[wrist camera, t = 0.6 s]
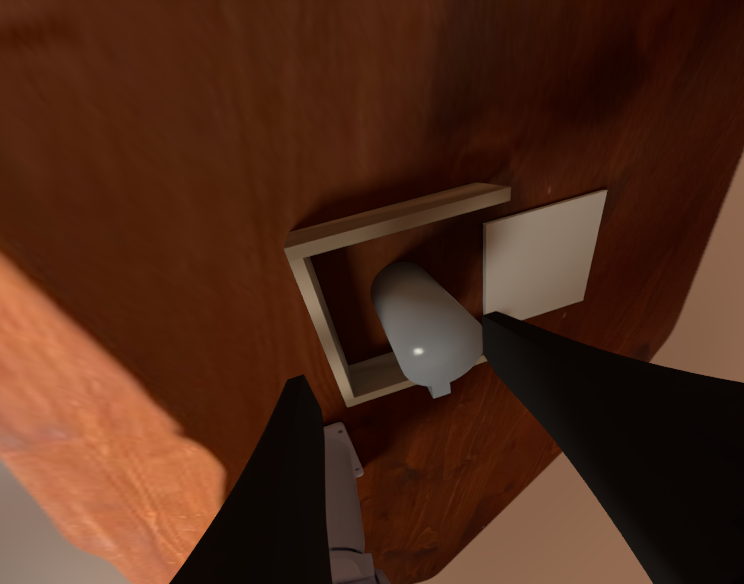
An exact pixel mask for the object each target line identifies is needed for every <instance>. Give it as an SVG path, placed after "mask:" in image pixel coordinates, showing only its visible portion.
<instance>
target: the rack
mask: <svg viewBox="0 0 744 584" xmlns="http://www.w3.org/2000/svg"><path fill="white" fill-rule="evenodd" d="M510 195H511V187H507V186H500V185H493V184H486V183H478V182H475V183H471V184H468V185H464V186H460V187H456V188H453V189H449V190H445V191H441V192H438V193H434V194H430V195H426V196H423V197H419V198H415V199H412V200H408V201H404V202H400V203H397V204H393V205H389V206H385V207H382V208H378V209H374V210H370V211H367V212H363V213H359V214H355V215H352V216H348V217H344V218H340V219H337V220H333V221H329V222H325V223H322V224H318V225H314V226H311V227H307V228H303V229H299V230H296V231H292V232H288V236H287V239H286V243H285V246H284V251H285V253H286V256H287V258H288V261H289V263H290V266H291V268H292V271H293V273H294V276H295V278H296V281H297V283H298V286H299V288H300V291H301V293H302V296H303V298H304V301H305V303H306V306H307V308H308V311H309V313H310V316H311V318H312V321H313V323H314V326H315V328H316V331H317V333H318V336H319V338H320V341H321V343H322V346H323V348H324V351H325V353H326V356H327V358H328V361H329V363H330V366H331V368H332V371H333V373H334V376H335V378H336V381H337V383H338V386H339V388H340V391H341V393H342V396H343V399H344V401H345V404H346V406H347V408H348V407H351V406H354V405H357V404H360V403H363V402H366V401H369V400H372V399H375V398H378V397H381V396H384V395H387V394H390V393H393V392H396V391H399V390H402V389H405V388H408V387H411V386H414V385H417V384H416V383H413V382H412V381H410V380H409V379H408V378H407V377H406V376H405V375H404V373H403V371H402V369H401V367H400V365H399V362H398V360H397V358H396V355H395V353H394V351H393V352H390V353H387V354H384V355H381V356H378V357H374V358H371V359H368V360H365V361H362V362H359V363H356V364H352V365H349V366H348V364H347V361H346V358H345V355H344V353H343V350H342V347H341V344H340V341H339V339H338V336H337V333H336V330H335V327H334V324H333V322H332V319H331V316H330V313H329V310H328V307H327V305H326V302H325V299H324V296H323V293H322V290H321V288H320V285H319V282H318V279H317V276H316V273H315V271H314V268H313V265H312V262H311V259H310V256H312V255H316V254H319V253H323V252H327V251H330V250H334V249H337V248H341V247H345V246H348V245H352V244H355V243H359V242H363V241H366V240H370V239H373V238H377V237H381V236H384V235H388V234H391V233H395V232H399V231H402V230H406V229H410V228H413V227H417V226H420V225H424V224H428V223H431V222H435V221H438V220H442V219H446V218H449V217H453V216H456V215H460V214H464V213H467V212H471V211H474V210H478V209H482V208H485V207H489V206H492V205H496V204H500V203H503V202H507V201H510ZM486 361H487V359H486V358H485V356H484V355H483V352H482V354H481V356H480V358H479V359H478V361H477V362H476V363H475V365H477V364H480V363H483V362H486Z"/></svg>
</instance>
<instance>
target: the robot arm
mask: <svg viewBox="0 0 744 584" xmlns="http://www.w3.org/2000/svg"><path fill="white" fill-rule="evenodd" d="M482 342H483V355H484V356H485V358H486V359H487V361H488V362H489V364H490V365H491V367H492V368H493V370H494V371H495V372H496V374H497V375H498V376H499V378H500V379H501V380H502V381H503V382H504V383H505V384H506V386H507V387H508V388H509V389H510V390H511V391H512V392H513V393H514V395H515V396H516V397H517V398H518V399H519V400H520V401H521V402H522V403H523V405H524V406H525V407H526V408H527V409H528V410H529V411H530V412H531V413H532V415H533V416H534V417H535V418H536V419H537V420H538V421H539V422H540V423H541V425H542V426H543V427H544V428H545V429H546V431H547V432H548V433H549V434H550V435H551V437H552V438H553V439H554V440H555V442H556V443H557V444H558V446H559V447H560V448H561V450H562V451H563V452H564V454H565V455H566V456H567V457H568V459H569V460H570V462H571V463H572V464H573V466H574V467H575V468H576V470H577V471H578V473H579V474H580V475H581V477H582V478H583V480H584V481H585V482H586V484H587V485H588V487H589V488H590V489H591V491H592V492H593V494H594V495H595V496H596V497H597V499H598V501H599V502H600V504H601V505H602V507H603V508H604V510H605V511H606V512H607V514H608V515H609V517H610V518H611V520H612V521H613V523H614V524H615V526H616V527H617V528H618V530H619V531H620V532H621V534H622V536H623V537H624V539H625V541H626V542H627V544H628V545H629V547H630V548H631V550H632V551H633V553H634V554H635V556H636V558H637V559H638V561H639V562H640V564H641V565H642V567H643V568H644V570H645V571H646V573H647V574H648V576H649V578H650V579H651V581H652V582H653V584H744V383H742V382H737V381H730V380H725V379H720V378H715V377H710V376H704V375H699V374H695V373H690V372H686V371H682V370H677V369H673V368H668V367H664V366H660V365H656V364H652V363H648V362H644V361H640V360H636V359H633V358H629V357H625V356H622V355H618V354H615V353H611V352H608V351H604V350H601V349H598V348H595V347H592V346H589V345H586V344H583V343H580V342H577V341H574V340H571V339H568V338H566V337H563V336H560V335H557V334H555V333H552V332H549V331H547V330H544V329H542V328H539V327H537V326H534V325H531V324H529V323H526V322H524V321H521V320H519V319H516V318H514V317H511V316H509V315H506V314H503V313H501V312H498V311H494V312H491V313H488V314H485V315H482ZM363 474H364V471H363V468H362V465H361V463H360V461H359V458H358V456H357V454H356V451H355V449H354V447H353V444H352V442H351V440H350V437H349V435H348V433H347V430H346V428H345V426H344V424H343V423H342V422H337V423H334V424H331V425H328V426H325V427H324V426H323V418H322V411H321V408H320V406H319V404H318V402H317V400H316V398H315V396H314V394H313V392H312V390H311V388H310V386H309V384H308V382H307V380H306V378H305V376H304V374H303V375H300V376H297V377H294V378H291V379H288V380H287V382H286V384H285V386H284V388H283V391H282V393H281V395H280V397H279V400H278V402H277V404H276V406H275V409H274V411H273V413H272V415H271V417H270V420H269V422H268V424H267V426H266V428H265V430H264V432H263V434H262V436H261V438H260V440H259V442H258V444H257V446H256V448H255V450H254V452H253V454H252V455H251V457H250V459H249V461H248V463H247V465H246V467H245V469H244V470H243V472H242V474H241V476H240V477H239V479H238V481H237V483H236V484H235V486H234V488H233V489H232V491H231V493H230V494H229V496H228V498H227V499H226V501H225V503H224V504H223V506H222V507H221V509H220V511H219V512H218V514H217V515H216V517H215V518H214V520H213V521H212V523H211V524H210V526H209V527H208V529H207V530H206V532H205V533H204V535H203V536H202V538H201V539H200V541H199V542H198V544H197V545H196V547H195V548H194V550H193V551H192V553H191V554H190V555H189V557H188V558H187V560H186V561H185V563H184V564H183V566H182V567H181V568H180V570H179V571H178V572H177V574H176V575H175V576H174V578H173V579H172V581H171V582H170V583H169V584H391V583H390V581H389V580H388V579H387V578H386V576H385V574H384V573H383V571H382V570H381V569H378V568H376V569H374V566H373V560H372V554H371V553H367V554H364V545H365V541H364V532H363V525H362V518H361V511H360V504H359V497H358V491H357V484H356V478H357V477H359V476H362V475H363Z"/></svg>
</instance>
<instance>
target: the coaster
mask: <svg viewBox="0 0 744 584" xmlns="http://www.w3.org/2000/svg"><path fill="white" fill-rule="evenodd" d="M606 194H607V190H599V191H596V192H592V193H589V194H585V195H582V196H578V197H575V198H571V199H567V200H564V201H560V202H557V203H553V204H550V205H546V206H543V207H539V208H536V209H532V210H529V211H525V212H522V213H518V214H514V215H511V216H507V217H504V218H500V219H497V220H493V221H490V222H486V223H483V315H485V314H488V313H491V312H494V311H498V312H501V313H503V314H506V315H509V316H511V317H514V318H516V319H519V320H524V319H527V318H530V317H533V316H536V315H539V314H542V313H545V312H549V311H552V310H555V309H558V308H561V307H564V306H567V305H570V304H573V303H577V302H580V301H583V298H584V294H585V289H586V285H587V280H588V276H589V271H590V266H591V262H592V257H593V253H594V248H595V244H596V239H597V235H598V230H599V226H600V221H601V217H602V212H603V207H604V203H605V198H606Z"/></svg>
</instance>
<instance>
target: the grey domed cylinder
mask: <svg viewBox="0 0 744 584" xmlns="http://www.w3.org/2000/svg"><path fill="white" fill-rule="evenodd" d="M370 296H371V300H372V303H373V305H374V308H375V310H376V312H377V315H378V317H379V319H380V321H381V324H382V326H383V328H384V330H385V333H386V335H387V337H388V340H389V342H390V344H391V346H392V349H393V351H394V353H395V355H396V358H397V360H398V362H399V365H400V367H401V369H402V371H403V373H404V375H405V376H406V377H407V378H408V379H409V380H410V381H412V382H413V383H416V384H418V385H422V386H427V387H428V389H429V391H430V393H431V395H432V397H433V399H434V398H437V397H440V396H443V395H446V394H449V393H451V391H450V382H451V381H454V380H456V379H457V378H459V377H461V376H462V375H464V374H465V373H466V372H468V371H469V370H470V369H471V368H472V367H473V366H474V365H475V363H476V362H477V361H478V359H479V358H480V356H481V354H482V352H483V342H482V326H481V324H480V323H479V322H478V321H477V320H476V319H475V318H474V317H473V316H472V315H471V314H470V313H469V312H467V311H466V310H465V309H464V308H463V307H462V306H461V305H460V304H459V303H458V302H457V301H456V300H455V299H454V298H453V297H452V296H451V295H450V294H449V293H448V292H447V291H446V290H445V289H444V288H443V287H442V286H440V285H439V284H438V283H437V282H436V281H435V280H434V279H433V278H432V277H431V276H430V275H429V274H428V273H427V272H426V271H425V270H424V269H423V268H422V267H421V266H419V265H417V264H415V263H413V262H408V261H401V262H396V263H393V264H390V265H388V266H387V267H385V268H384V269H382V270H381V271H380V272H379V273H378V274H377V276H376V277H375V279H374V281H373V283H372V286H371V291H370Z"/></svg>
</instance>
